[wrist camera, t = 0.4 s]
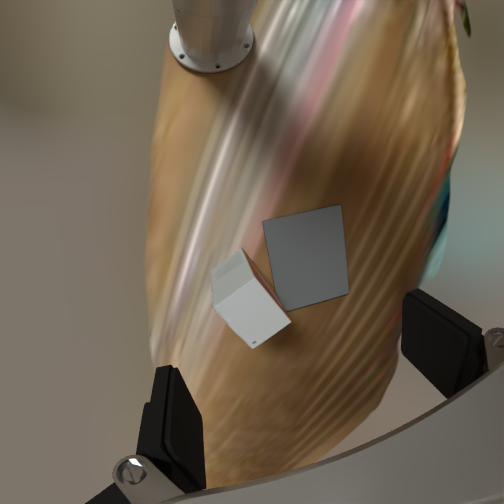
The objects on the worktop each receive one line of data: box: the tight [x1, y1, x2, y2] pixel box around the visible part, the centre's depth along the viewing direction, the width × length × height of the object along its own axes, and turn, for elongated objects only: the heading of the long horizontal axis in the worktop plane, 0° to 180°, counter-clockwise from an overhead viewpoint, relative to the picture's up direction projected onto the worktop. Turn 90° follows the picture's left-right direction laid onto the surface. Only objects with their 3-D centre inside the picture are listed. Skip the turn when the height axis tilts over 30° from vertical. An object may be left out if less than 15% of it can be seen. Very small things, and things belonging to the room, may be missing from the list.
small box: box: [210, 248, 291, 349], centre depth 41 cm, size 8×6×13 cm
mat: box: [262, 205, 349, 311], centre depth 48 cm, size 16×13×1 cm
